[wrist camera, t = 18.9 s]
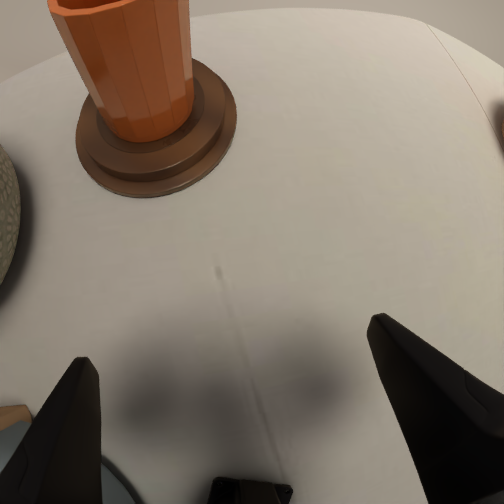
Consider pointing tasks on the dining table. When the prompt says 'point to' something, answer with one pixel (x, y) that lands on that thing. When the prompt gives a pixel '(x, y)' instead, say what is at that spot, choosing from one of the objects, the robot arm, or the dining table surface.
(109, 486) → the alarm clock
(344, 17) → the dining table surface
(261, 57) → the dining table surface
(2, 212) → the planter
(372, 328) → the robot arm
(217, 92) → the stand
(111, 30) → the cup
